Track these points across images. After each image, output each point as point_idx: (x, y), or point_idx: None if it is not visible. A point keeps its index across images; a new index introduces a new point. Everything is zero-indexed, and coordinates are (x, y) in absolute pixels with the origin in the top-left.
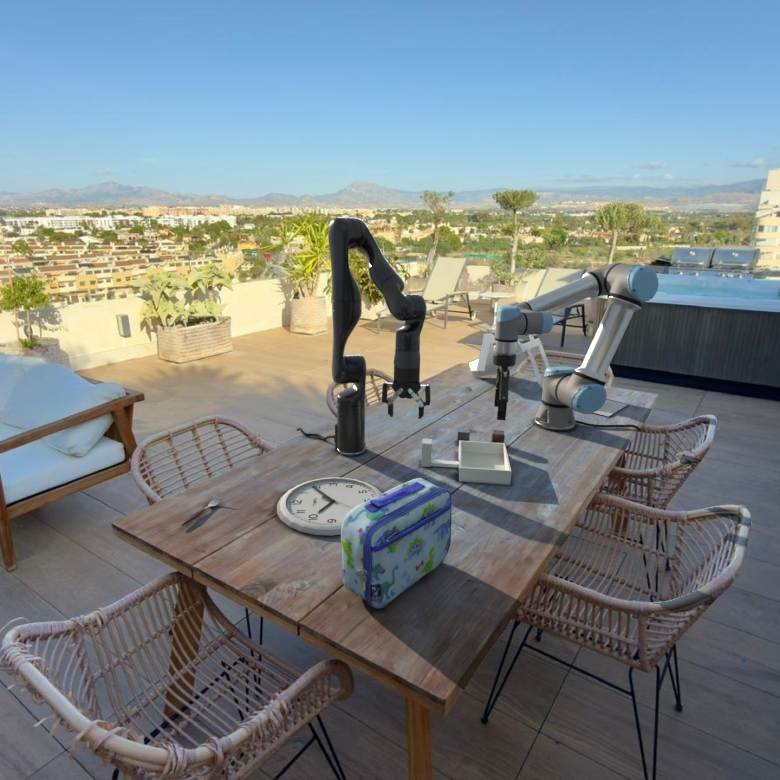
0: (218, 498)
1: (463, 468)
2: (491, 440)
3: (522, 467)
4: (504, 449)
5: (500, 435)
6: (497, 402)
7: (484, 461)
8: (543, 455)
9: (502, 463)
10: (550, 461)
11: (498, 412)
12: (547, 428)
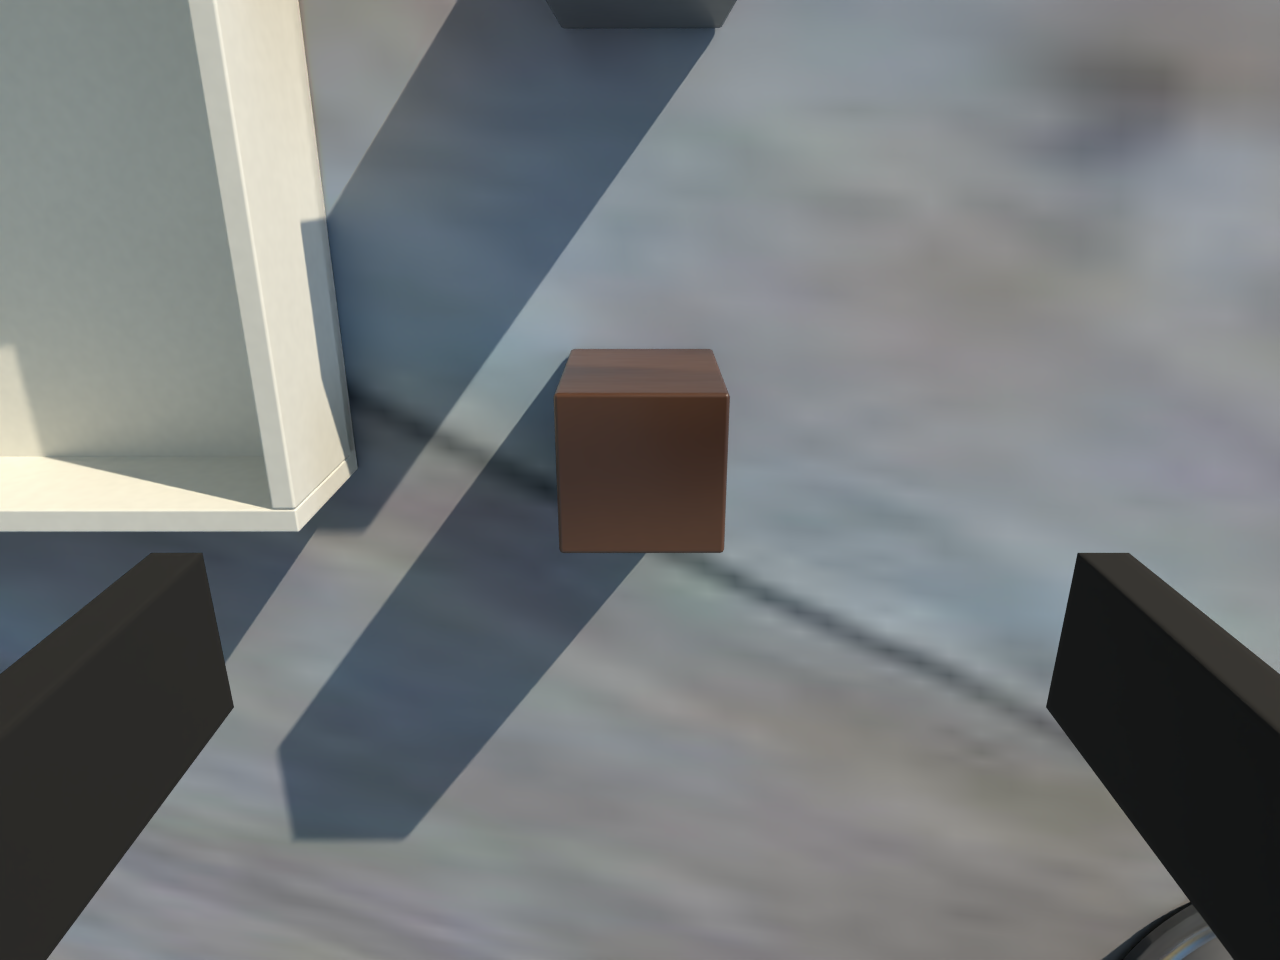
0: None
1: None
2: (692, 357)
3: None
4: (101, 506)
5: (557, 496)
6: (1125, 673)
7: (53, 229)
8: (472, 825)
9: (81, 437)
10: (349, 859)
11: (40, 665)
12: (1143, 950)
